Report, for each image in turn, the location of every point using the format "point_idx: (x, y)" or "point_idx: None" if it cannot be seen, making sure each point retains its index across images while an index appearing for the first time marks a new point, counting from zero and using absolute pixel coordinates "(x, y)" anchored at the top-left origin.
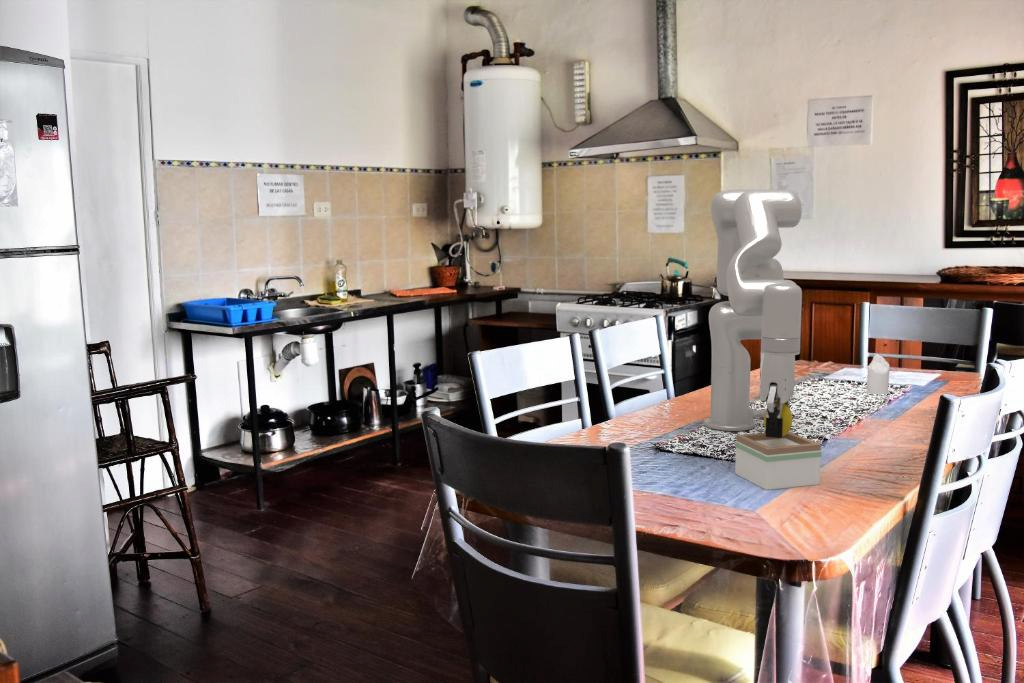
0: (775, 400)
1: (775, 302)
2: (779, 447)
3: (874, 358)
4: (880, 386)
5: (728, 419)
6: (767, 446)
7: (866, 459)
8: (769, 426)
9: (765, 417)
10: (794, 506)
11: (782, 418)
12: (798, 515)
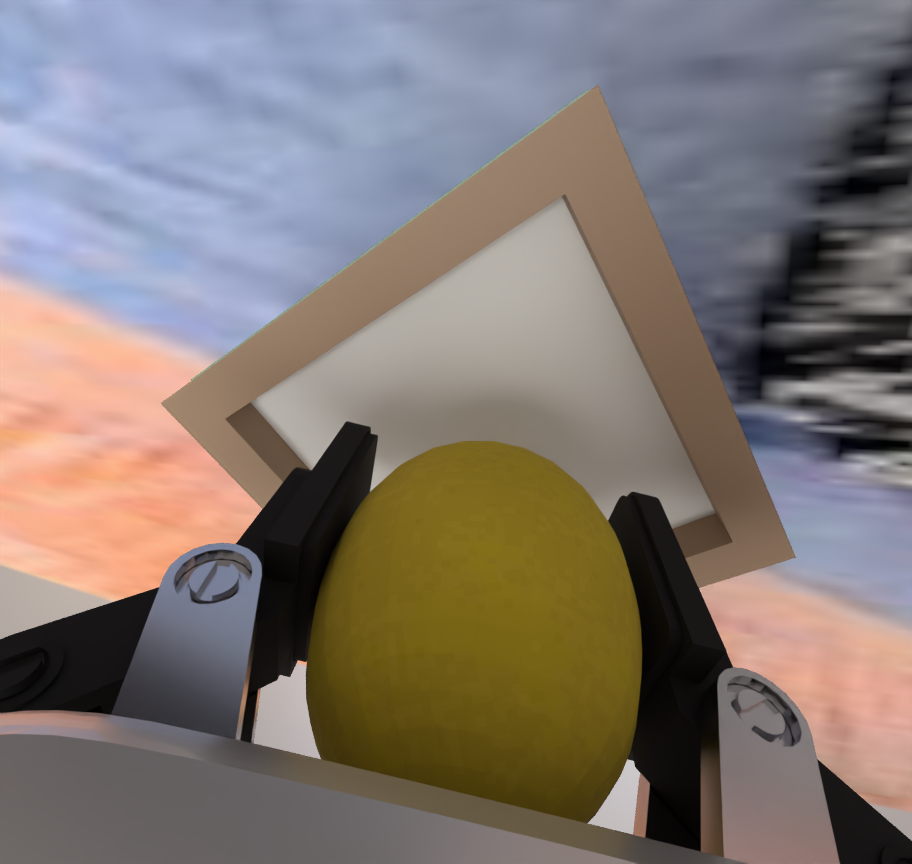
0: (714, 845)
1: None
2: (255, 479)
3: None
4: None
5: None
6: (243, 405)
7: (834, 693)
8: (267, 504)
9: (398, 517)
10: (134, 421)
11: (280, 673)
12: (44, 428)
